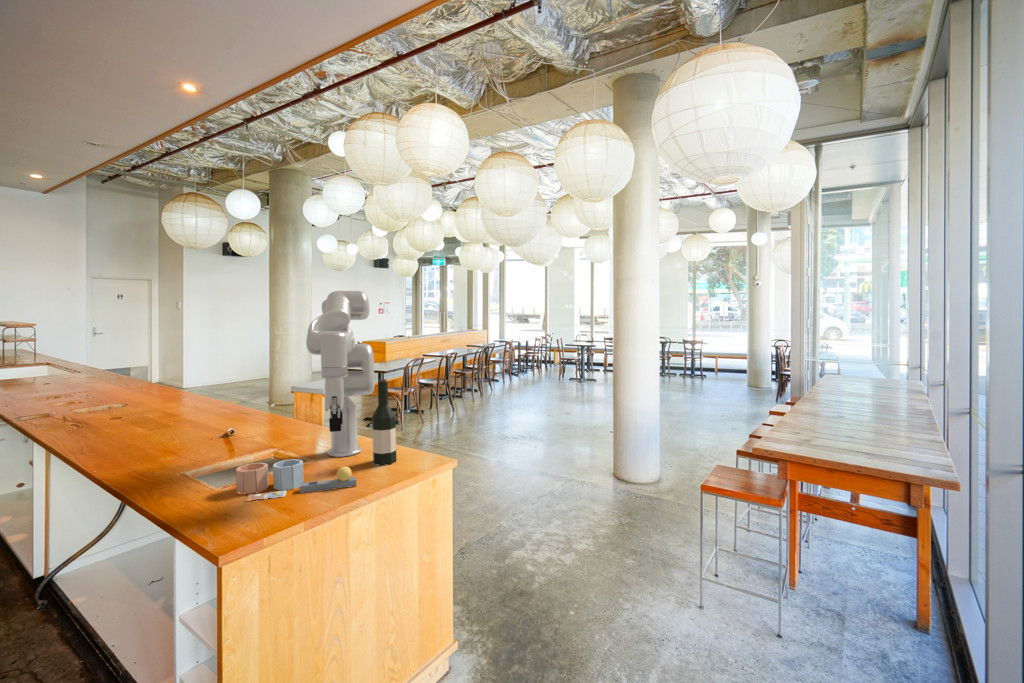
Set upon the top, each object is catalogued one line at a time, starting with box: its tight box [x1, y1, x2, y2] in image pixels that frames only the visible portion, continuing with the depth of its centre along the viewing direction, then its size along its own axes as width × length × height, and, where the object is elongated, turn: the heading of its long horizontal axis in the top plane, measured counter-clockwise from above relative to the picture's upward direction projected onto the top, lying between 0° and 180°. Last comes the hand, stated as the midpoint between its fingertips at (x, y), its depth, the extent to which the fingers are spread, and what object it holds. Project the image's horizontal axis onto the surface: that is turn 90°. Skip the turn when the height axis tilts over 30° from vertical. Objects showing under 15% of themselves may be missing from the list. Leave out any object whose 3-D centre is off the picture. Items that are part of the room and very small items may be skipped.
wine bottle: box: [371, 378, 397, 466], centre depth 168 cm, size 8×8×30 cm
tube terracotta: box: [235, 462, 270, 494], centre depth 142 cm, size 8×8×7 cm
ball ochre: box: [336, 466, 352, 481], centre depth 144 cm, size 4×4×4 cm
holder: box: [299, 476, 357, 494], centre depth 143 cm, size 3×16×2 cm, turn 109°
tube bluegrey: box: [272, 458, 305, 491], centre depth 146 cm, size 8×8×7 cm
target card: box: [246, 490, 287, 500], centre depth 137 cm, size 4×10×1 cm, turn 109°
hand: (336, 427), depth 143 cm, fingers open, 9 cm apart
